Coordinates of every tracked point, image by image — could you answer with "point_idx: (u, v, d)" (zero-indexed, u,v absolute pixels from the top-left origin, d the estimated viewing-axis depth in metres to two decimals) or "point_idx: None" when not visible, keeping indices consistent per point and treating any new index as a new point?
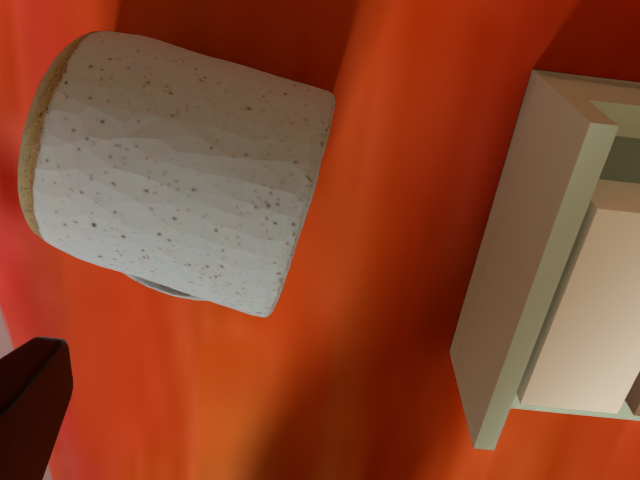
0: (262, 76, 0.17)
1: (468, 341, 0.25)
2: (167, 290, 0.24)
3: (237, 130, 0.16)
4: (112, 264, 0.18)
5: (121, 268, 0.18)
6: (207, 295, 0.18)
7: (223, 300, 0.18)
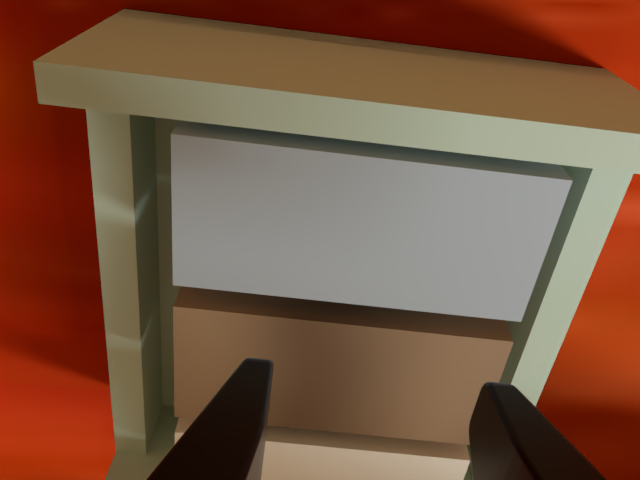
0: None
1: None
2: None
3: None
4: None
5: None
6: None
7: None
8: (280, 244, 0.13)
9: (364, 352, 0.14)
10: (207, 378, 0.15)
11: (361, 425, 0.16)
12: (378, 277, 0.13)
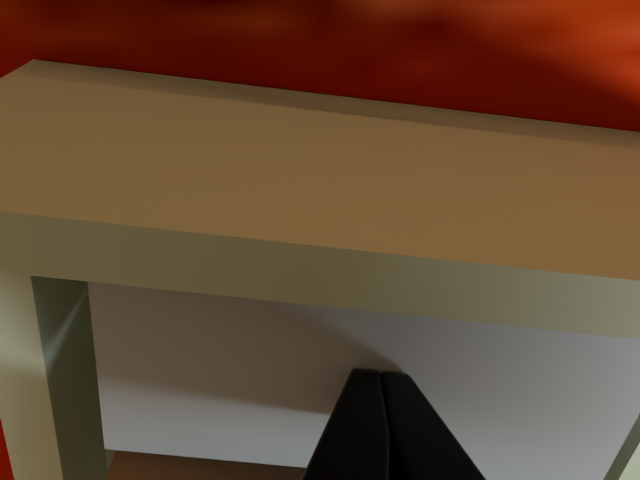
0: None
1: None
2: None
3: None
4: None
5: None
6: None
7: None
8: (256, 400, 0.09)
9: None
10: None
11: None
12: None
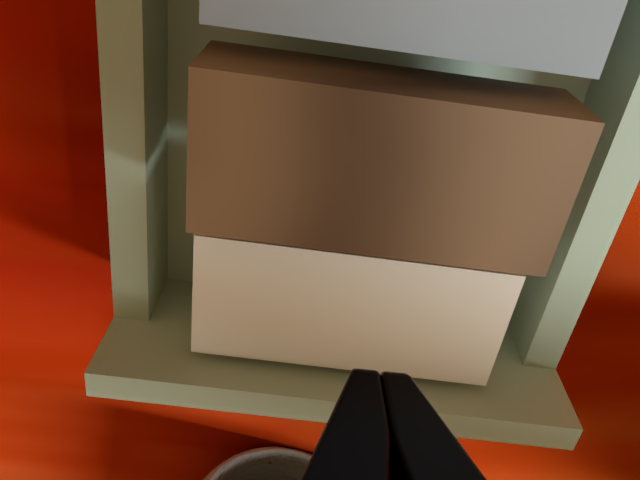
0: None
1: None
2: None
3: None
4: None
5: None
6: None
7: None
8: None
9: (420, 138, 0.12)
10: (226, 176, 0.12)
11: (409, 247, 0.13)
12: (437, 14, 0.11)
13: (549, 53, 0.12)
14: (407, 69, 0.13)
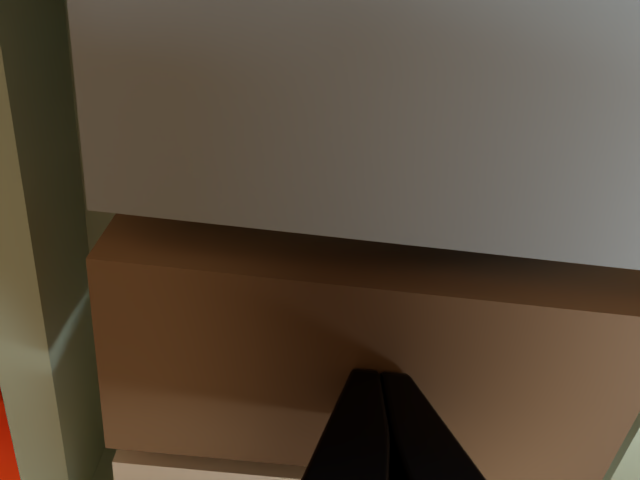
0: None
1: None
2: None
3: None
4: None
5: None
6: None
7: None
8: (279, 127, 0.07)
9: (424, 341, 0.08)
10: (154, 386, 0.09)
11: None
12: (455, 194, 0.07)
13: (626, 244, 0.08)
14: None
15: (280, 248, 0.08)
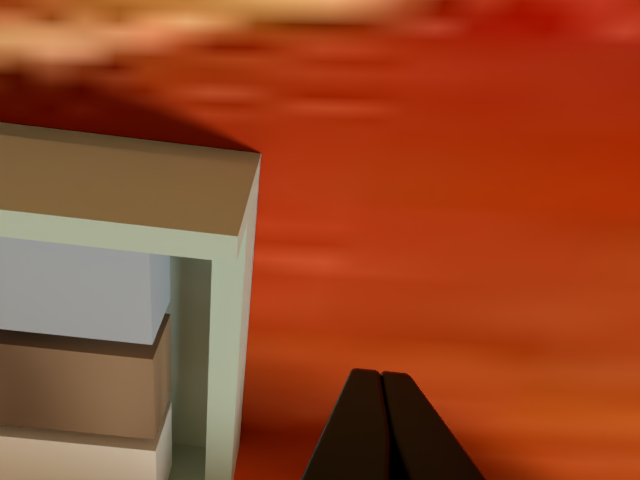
0: None
1: None
2: None
3: None
4: None
5: None
6: None
7: None
8: None
9: (43, 367, 0.19)
10: None
11: (60, 423, 0.20)
12: (33, 311, 0.18)
13: (113, 331, 0.18)
14: None
15: None
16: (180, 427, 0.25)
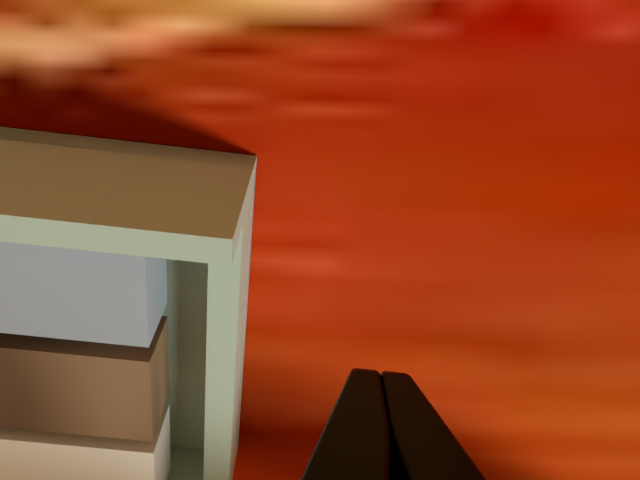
0: None
1: None
2: None
3: None
4: None
5: None
6: None
7: None
8: None
9: (40, 370, 0.19)
10: None
11: (58, 426, 0.20)
12: (30, 315, 0.18)
13: (110, 334, 0.18)
14: None
15: None
16: (179, 429, 0.25)
